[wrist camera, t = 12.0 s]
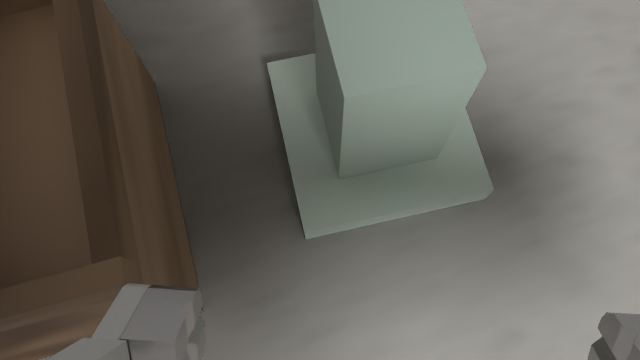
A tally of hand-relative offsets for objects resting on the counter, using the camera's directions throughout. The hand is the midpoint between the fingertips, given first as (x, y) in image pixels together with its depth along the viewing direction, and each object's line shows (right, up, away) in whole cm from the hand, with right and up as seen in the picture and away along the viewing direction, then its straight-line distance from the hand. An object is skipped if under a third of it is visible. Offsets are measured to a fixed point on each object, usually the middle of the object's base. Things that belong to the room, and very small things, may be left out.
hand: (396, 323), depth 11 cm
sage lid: (0, +5, +9) cm, 10 cm away
